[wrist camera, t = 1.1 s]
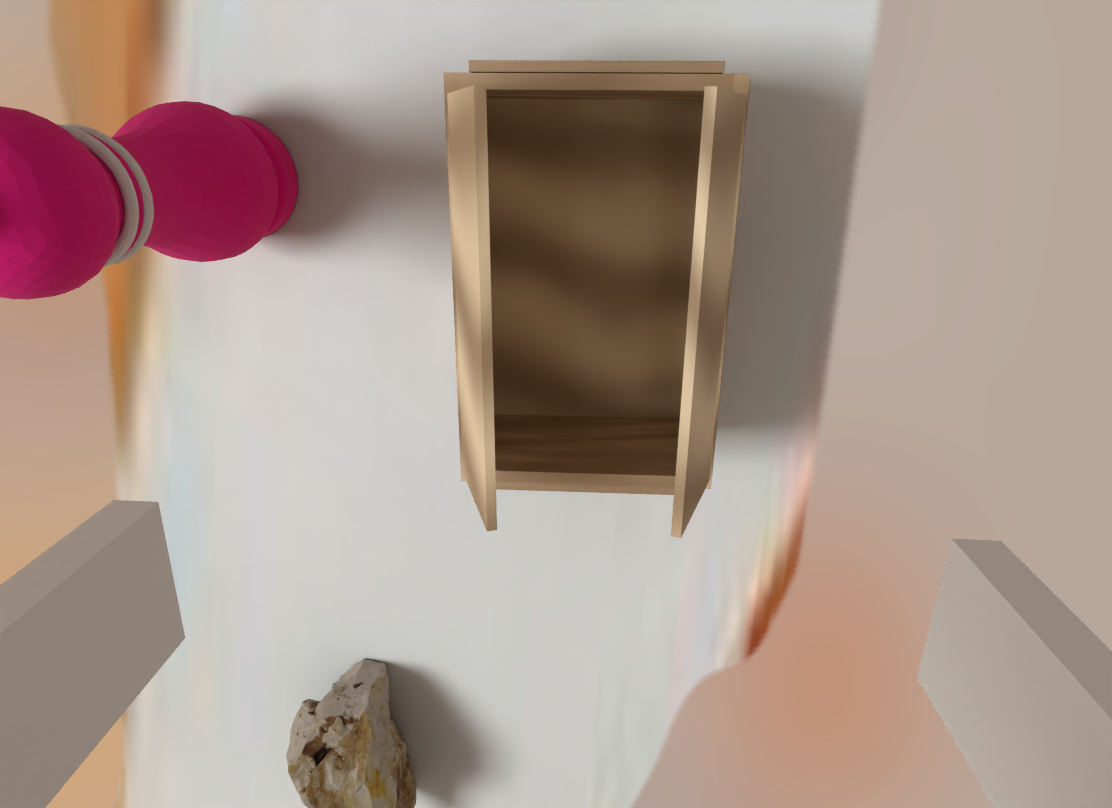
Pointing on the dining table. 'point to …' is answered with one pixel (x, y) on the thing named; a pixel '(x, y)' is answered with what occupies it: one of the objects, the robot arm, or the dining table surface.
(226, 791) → the dining table surface
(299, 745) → the rock
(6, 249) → the pepper mill
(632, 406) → the carton
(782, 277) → the dining table surface
